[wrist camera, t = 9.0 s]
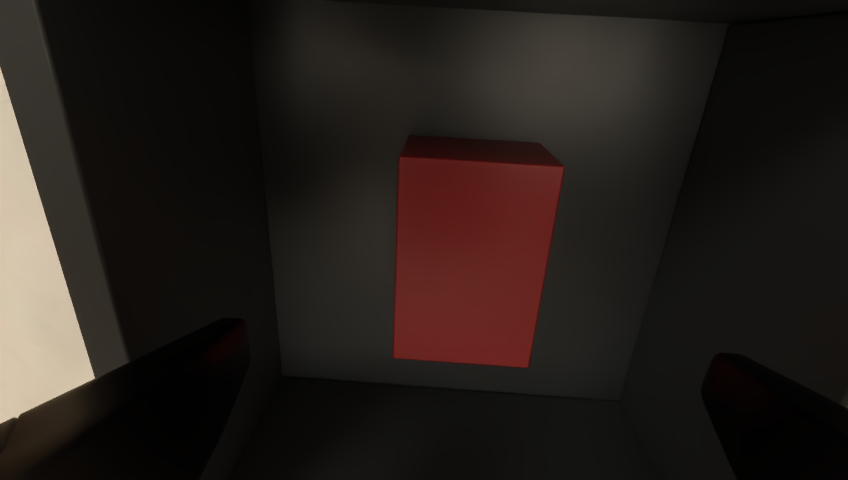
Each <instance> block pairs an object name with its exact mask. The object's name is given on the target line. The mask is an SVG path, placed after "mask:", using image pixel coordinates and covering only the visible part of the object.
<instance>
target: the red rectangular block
mask: <svg viewBox="0 0 848 480" xmlns="http://www.w3.org/2000/svg"><path fill="white" fill-rule="evenodd" d="M564 170H565V167H564V165H563V164H562V163H561V162H560V161H558V160H557V159H556V158H555V157H554V156H553V155H552V154H551V153H550V152H549V151H548V150H547V149H546V148H545V147H544V146H543V145H542V144H540V143H533V142H517V141H501V140H484V139H468V138H451V137H435V136H418V135H409V136H408V138H407V140H406V142H405V144H404V147H403V149H402V151H401V153H400V155H399V157H398V184H397V218H396V253H395V287H394V321H393V358H396V359H409V360H423V361H437V362H451V363H465V364H478V365H492V366H506V367H520V368H528V367H529V363H530V358H531V352H532V347H533V341H534V336H535V330H536V325H537V319H538V314H539V308H540V303H541V297H542V292H543V286H544V281H545V275H546V270H547V264H548V259H549V253H550V248H551V242H552V237H553V231H554V226H555V220H556V215H557V209H558V204H559V198H560V193H561V187H562V182H563V176H564Z"/></svg>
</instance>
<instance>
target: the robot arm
mask: <svg viewBox="0 0 848 480" xmlns="http://www.w3.org/2000/svg"><path fill="white" fill-rule="evenodd" d="M250 362H251V347H250V339H249V331H248V325H247V322H246V321H245V320H244V319H242V318H230V317H224V318H221V319H219V320H217V321H215V322H213V323H210V324H208V325H206V326H204V327H202V328H200V329H198V330H196V331H194V332H192V333H190V334H187V335H185V336H183V337H181V338H179V339H177V340H175V341H173V342H171V343H169V344H167V345H164V346H162V347H160V348H158V349H156V350H154V351H152V352H150V353H148V354H146V355H144V356H141V357H139V358H137V359H135V360H133V361H131V362H129V363H127V364H125V365H123V366H121V367H119V368H116V369H114V370H112V371H110V372H108V373H106V374H104V375H102V376H100V377H98V378H96V379H93V380H91V381H89V382H87V383H85V384H83V385H81V386H79V387H77V388H75V389H73V390H70V391H68V392H66V393H64V394H62V395H60V396H58V397H56V398H54V399H52V400H50V401H47V402H45V403H43V404H41V405H39V406H37V407H35V408H33V409H31V410H29V411H27V412H24V413H22V414H21V415H20V416H19V417H18V418H12V419H10V420H7V421H5V422H3V423H1V424H0V480H199V478H200V476H201V475H202V473H203V471H204V469H205V467H206V465H207V463H208V461H209V459H210V457H211V456H212V454H213V452H214V450H215V448H216V446H217V444H218V442H219V440H220V438H221V436H222V433H223V431H224V429H225V426H226V424H227V421H228V419H229V416H230V414H231V411H232V409H233V406H234V404H235V401H236V399H237V396H238V394H239V391H240V388H241V386H242V383H243V381H244V378H245V376H246V373H247V371H248V368H249V366H250ZM701 396H702V400H703V402H704V405H705V407H706V410H707V412H708V414H709V417H710V419H711V421H712V424H713V426H714V428H715V431H716V433H717V435H718V438H719V440H720V442H721V445H722V447H723V450H724V452H725V454H726V457H727V459H728V461H729V464H730V466H731V468H732V470H733V472H734V475H735V477H736V479H737V480H848V408H846V407H844V406H842V405H840V404H838V403H836V402H834V401H832V400H830V399H828V398H826V397H824V396H823V395H821V394H819V393H817V392H815V391H813V390H811V389H809V388H807V387H805V386H803V385H801V384H799V383H797V382H795V381H793V380H791V379H789V378H787V377H785V376H783V375H781V374H779V373H777V372H775V371H773V370H772V369H770V368H768V367H766V366H764V365H762V364H760V363H758V362H756V361H754V360H752V359H750V358H748V357H746V356H744V355H742V354H738V353H722V352H719V353H717V354H715V355H714V356H713V357H712V359H711V362H710V364H709V367H708V370H707V372H706V375H705V377H704V380H703V383H702V386H701Z"/></svg>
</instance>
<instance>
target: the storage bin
mask: <svg viewBox="0 0 848 480" xmlns="http://www.w3.org/2000/svg"><path fill="white" fill-rule="evenodd" d="M0 67H1V70H2V73H3V77H4V80H5V83H6V86H7V90H8V93H9V96H10V100H11V103H12V106H13V110H14V113H15V116H16V119H17V123H18V126H19V129H20V133H21V136H22V139H23V142H24V146H25V149H26V152H27V156H28V159H29V162H30V165H31V169H32V172H33V175H34V179H35V182H36V185H37V188H38V192H39V195H40V198H41V202H42V205H43V208H44V211H45V215H46V218H47V221H48V225H49V228H50V231H51V234H52V238H53V241H54V244H55V248H56V251H57V254H58V257H59V261H60V264H61V267H62V271H63V274H64V277H65V280H66V284H67V287H68V290H69V294H70V297H71V300H72V304H73V307H74V310H75V313H76V317H77V320H78V323H79V327H80V330H81V333H82V336H83V340H84V343H85V346H86V350H87V353H88V356H89V359H90V363H91V366H92V369H93V373H94V376H95V379H96V378H98V377H100V376H102V375H104V374H106V373H108V372H110V371H112V370H114V369H116V368H119V367H121V366H123V365H125V364H127V363H129V362H131V361H133V360H135V359H137V358H139V357H141V356H144V355H146V354H148V353H150V352H152V351H154V350H156V349H158V348H160V347H162V346H164V345H167V344H169V343H171V342H173V341H175V340H177V339H179V338H181V337H183V336H185V335H187V334H190V333H192V332H194V331H196V330H198V329H200V328H202V327H204V326H206V325H208V324H210V323H213V322H215V321H217V320H219V319H221V318H224V317H230V318H242V319H244V320H245V321H246V322H247V325H248V331H249V339H250V347H251V362H250V366H249V368H248V371H247V373H246V376H245V378H244V381H243V383H242V386H241V388H240V391H239V394H238V396H237V399H236V401H235V404H234V406H233V409H232V411H231V414H230V416H229V419H228V421H227V424H226V426H225V429H224V431H223V433H222V436H221V438H220V440H219V442H218V444H217V446H216V448H215V450H214V452H213V454H212V456H211V457H210V459H209V461H208V463H207V465H206V467H205V469H204V471H203V473H202V475H201V476H200V478H199V480H737V479H736V477H735V475H734V472H733V470H732V468H731V466H730V464H729V461H728V459H727V457H726V454H725V452H724V450H723V447H722V445H721V442H720V440H719V438H718V435H717V433H716V431H715V428H714V426H713V424H712V421H711V419H710V417H709V414H708V412H707V410H706V407H705V405H704V402H703V400H702V396H701V386H702V383H703V380H704V377H705V375H706V372H707V370H708V367H709V364H710V362H711V359H712V357H713V356H714V355H715V354H717V353H719V352H722V353H738V354H742V355H744V356H746V357H748V358H750V359H752V360H754V361H756V362H758V363H760V364H762V365H764V366H766V367H768V368H770V369H772V370H773V371H775V372H777V373H779V374H781V375H783V376H785V377H787V378H789V379H791V380H793V381H795V382H797V383H799V384H801V385H803V386H805V387H807V388H809V389H811V390H813V391H815V392H817V393H819V394H821V395H823V396H824V397H826V398H828V399H830V400H832V401H834V402H836V403H838V404H840V405H842V406H844V407H846V408H848V0H0ZM409 135H418V136H435V137H451V138H468V139H484V140H501V141H517V142H533V143H540V144H542V145H543V146H544V147H545V148H546V149H547V150H548V151H549V152H550V153H551V154H552V155H553V156H554V157H555V158H556V159H557V160H558V161H560V162H561V163H562V164H563V165H564V167H565V170H564V176H563V182H562V187H561V193H560V198H559V204H558V209H557V215H556V220H555V226H554V231H553V237H552V242H551V248H550V253H549V259H548V264H547V270H546V275H545V281H544V286H543V292H542V297H541V303H540V308H539V314H538V319H537V325H536V330H535V336H534V341H533V347H532V352H531V358H530V363H529V367H528V368H520V367H506V366H492V365H478V364H465V363H451V362H437V361H423V360H409V359H396V358H393V321H394V287H395V253H396V218H397V184H398V157H399V155H400V153H401V151H402V149H403V147H404V144H405V142H406V140H407V138H408V136H409Z"/></svg>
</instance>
